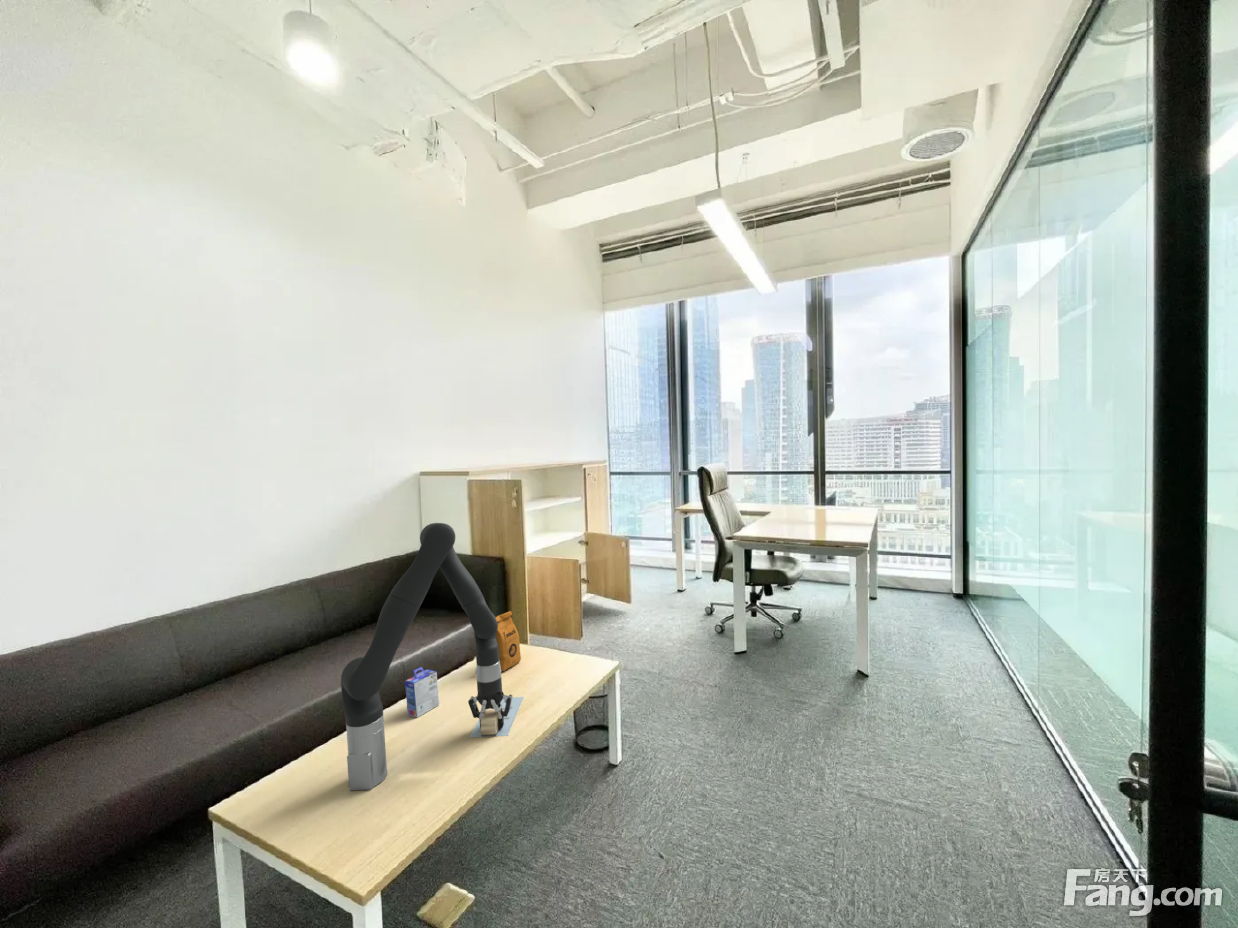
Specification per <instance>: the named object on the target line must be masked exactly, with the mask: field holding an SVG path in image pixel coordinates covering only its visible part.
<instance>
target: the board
mask: <svg viewBox="0 0 1238 928" xmlns="http://www.w3.org/2000/svg"><path fill="white" fill-rule="evenodd" d="M523 700H524V696H517V697H516V696H512V701H511V706H510V710H509V713H508V715H507V716H506V717H504V725H503V728H502V729H501V730H499V731H498V733H497V735H496V736H495V737H508V736H509V733H510V732H511V728H512V727H513V724H514V722H515V719H516V717H517V715H518V712H519V711H520V707H521V705H522V703H523ZM501 705H502V709H503V711H505V706H506V703H505V702H504V699H502V701H501ZM486 710H487V709H486ZM485 737H490V736H484V737H482V735H481V728H480V719H479V718H478V720H477V722H476V724H475V726H474V728H473V729H472V732H471V734H470V735H469V738H485Z"/></svg>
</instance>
